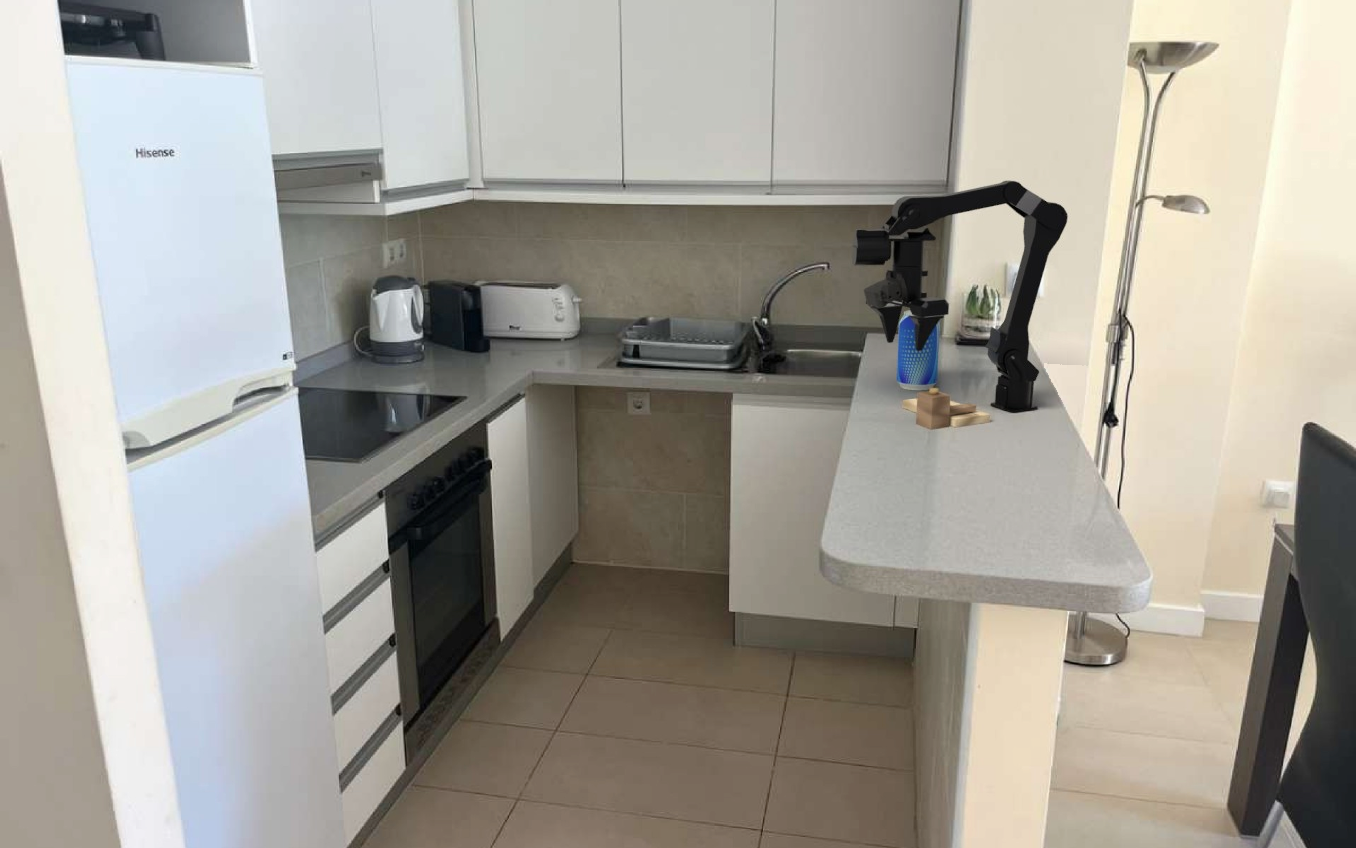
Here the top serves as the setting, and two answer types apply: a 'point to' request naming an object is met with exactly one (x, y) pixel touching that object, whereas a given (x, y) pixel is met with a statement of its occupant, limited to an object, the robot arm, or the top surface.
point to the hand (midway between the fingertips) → (904, 346)
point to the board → (955, 419)
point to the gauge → (937, 409)
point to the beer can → (916, 357)
